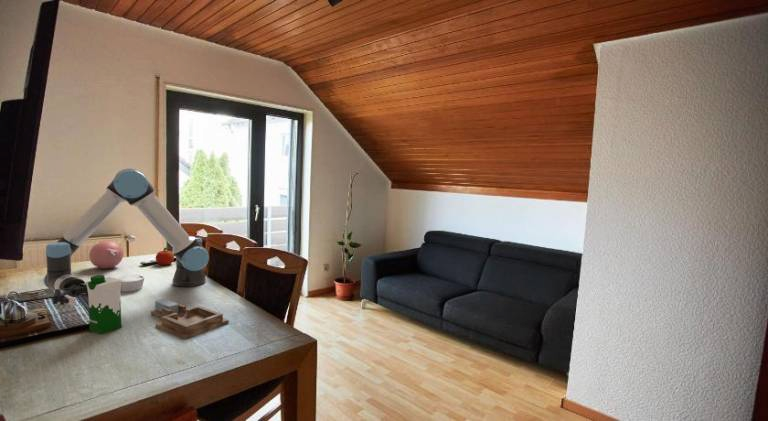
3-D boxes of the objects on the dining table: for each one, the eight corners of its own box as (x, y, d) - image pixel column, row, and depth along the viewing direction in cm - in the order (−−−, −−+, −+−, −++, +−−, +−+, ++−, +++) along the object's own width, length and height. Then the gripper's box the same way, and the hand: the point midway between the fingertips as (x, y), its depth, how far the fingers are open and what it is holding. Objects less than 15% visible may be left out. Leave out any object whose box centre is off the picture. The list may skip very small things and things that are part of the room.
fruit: (151, 265, 224) (151, 248, 222) (163, 262, 233) (163, 245, 232) (166, 267, 222) (166, 250, 221) (177, 263, 231) (177, 247, 230)
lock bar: (164, 306, 159) (163, 298, 159) (178, 312, 154) (178, 303, 154) (155, 309, 156) (155, 301, 155) (169, 315, 151) (169, 306, 151)
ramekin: (147, 289, 184) (147, 278, 183) (119, 294, 175) (119, 283, 175) (140, 284, 191) (140, 273, 191) (113, 288, 183) (113, 277, 182)
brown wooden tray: (180, 305, 165) (180, 296, 165) (228, 322, 150) (228, 312, 150) (136, 318, 150) (136, 308, 149) (184, 339, 134) (184, 327, 134)
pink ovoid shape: (95, 275, 201) (94, 246, 199) (86, 267, 214) (85, 240, 212) (129, 270, 212) (129, 243, 211) (119, 263, 226) (118, 237, 224)
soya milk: (85, 330, 138) (82, 276, 135) (111, 322, 146) (110, 270, 144) (99, 336, 134) (97, 280, 132) (126, 327, 142) (124, 274, 140)
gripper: (106, 287, 162) (133, 298, 151) (29, 304, 141) (54, 318, 130) (106, 270, 161) (133, 279, 151) (28, 284, 140) (53, 296, 129)
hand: (96, 297), depth 140 cm, fingers open, 13 cm apart
